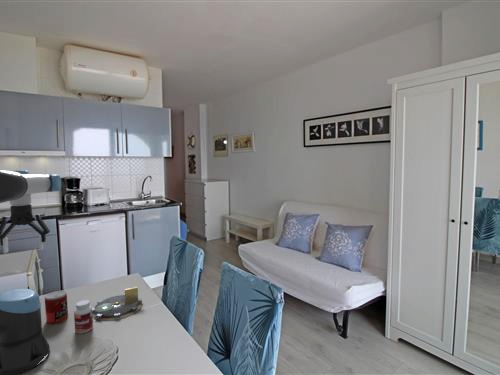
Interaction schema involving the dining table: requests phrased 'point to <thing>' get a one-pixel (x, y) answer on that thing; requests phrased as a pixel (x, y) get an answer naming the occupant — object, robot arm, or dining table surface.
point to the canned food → (56, 307)
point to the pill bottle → (83, 317)
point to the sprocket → (118, 304)
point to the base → (119, 317)
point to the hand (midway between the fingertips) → (24, 250)
